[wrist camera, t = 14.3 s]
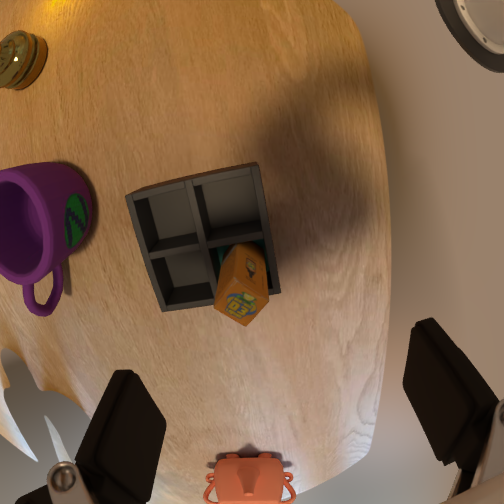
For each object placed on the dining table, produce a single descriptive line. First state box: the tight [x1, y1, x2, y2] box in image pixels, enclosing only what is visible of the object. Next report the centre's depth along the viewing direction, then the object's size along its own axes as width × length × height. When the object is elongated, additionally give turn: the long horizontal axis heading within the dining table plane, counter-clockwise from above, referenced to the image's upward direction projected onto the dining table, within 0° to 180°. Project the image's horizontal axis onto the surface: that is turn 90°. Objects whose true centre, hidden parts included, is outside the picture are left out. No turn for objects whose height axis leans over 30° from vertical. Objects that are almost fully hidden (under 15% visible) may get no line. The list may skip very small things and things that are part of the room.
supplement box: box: [214, 241, 269, 326], centre depth 26 cm, size 3×3×10 cm
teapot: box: [203, 453, 296, 504], centre depth 42 cm, size 15×17×13 cm
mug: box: [0, 162, 92, 317], centre depth 26 cm, size 17×11×10 cm, turn 172°
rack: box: [125, 162, 281, 312], centre depth 29 cm, size 12×12×5 cm
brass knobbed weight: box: [0, 30, 47, 89], centre depth 18 cm, size 7×7×10 cm
